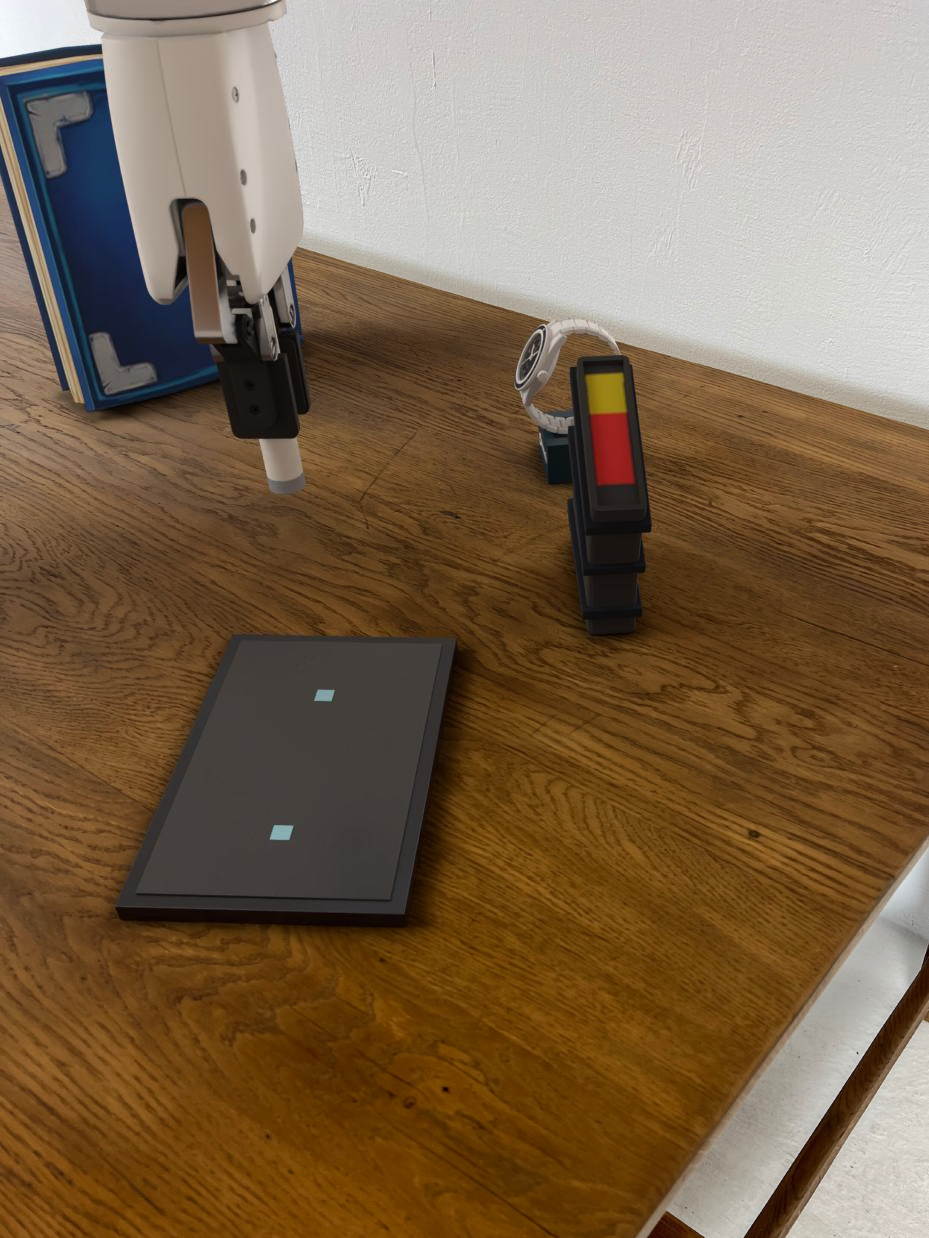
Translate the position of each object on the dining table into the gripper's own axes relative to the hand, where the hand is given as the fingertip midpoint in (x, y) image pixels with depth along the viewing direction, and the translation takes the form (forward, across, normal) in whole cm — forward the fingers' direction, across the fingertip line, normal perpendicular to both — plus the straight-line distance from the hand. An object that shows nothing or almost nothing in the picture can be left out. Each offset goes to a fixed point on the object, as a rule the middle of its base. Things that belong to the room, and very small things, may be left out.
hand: (273, 421), depth 56 cm
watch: (+18, -29, +13) cm, 36 cm away
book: (+17, -45, -21) cm, 53 cm away
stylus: (+4, 0, 0) cm, 4 cm away
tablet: (+18, +6, 0) cm, 19 cm away
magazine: (+18, -11, +16) cm, 26 cm away
